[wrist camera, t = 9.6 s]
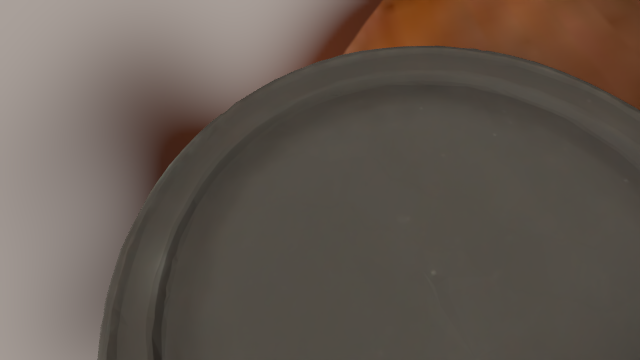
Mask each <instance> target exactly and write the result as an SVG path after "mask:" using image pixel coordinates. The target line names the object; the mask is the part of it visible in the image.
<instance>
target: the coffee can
mask: <svg viewBox="0 0 640 360" xmlns="http://www.w3.org/2000/svg"><path fill="white" fill-rule="evenodd" d="M98 360H640V110H638V109H636V108H635V107H633V106H631V105H630V104H628V103H626V102H624V101H622V100H621V99H619V98H617V97H615V96H613V95H612V94H610V93H608V92H606V91H604V90H602V89H600V88H598V87H596V86H594V85H592V84H590V83H588V82H585V81H583V80H581V79H578V78H576V77H574V76H571V75H569V74H567V73H564V72H562V71H559V70H556V69H554V68H551V67H548V66H545V65H542V64H540V63H537V62H534V61H530V60H526V59H522V58H518V57H515V56H511V55H506V54H501V53H496V52H491V51H481V50H478V49H466V48H456V47H445V46H408V47H393V48H382V49H374V50H366V51H359V52H354V53H349V54H344V55H340V56H337V57H334V58H330V59H327V60H323V61H319V62H317V63H314V64H311V65H309V66H306V67H304V68H301V69H299V70H296V71H293V72H291V73H289V74H287V75H285V76H282V77H280V78H278V79H276V80H274V81H272V82H270V83H268V84H267V85H265V86H263V87H261V88H259V89H258V90H256V91H254V92H253V93H251V94H250V95H248V96H246V97H245V98H243V99H241V100H240V101H238V102H236V103H235V104H234V105H233V106H232V107H231V108H230V109H228V110H227V111H226V112H225V113H223V114H221V115H220V116H218V117H217V118H216V119H215V120H213V121H212V122H211V123H210V124H208V125H207V126H206V127H205V128H204V129H203V130H202V131H201V132H200V133H199V134H198V135H197V136H196V137H195V138H194V139H193V140H192V141H191V142H190V143H189V144H188V145H187V146H186V147H185V148H184V149H183V150H182V152H181V153H180V154H179V155H178V156H177V157H176V158H175V160H174V161H173V162H172V163H171V164H170V165H169V167H168V168H167V169H166V171H165V172H164V173H163V175H162V176H161V178H160V179H159V180H158V182H157V183H156V185H155V186H154V188H153V190H152V191H151V192H150V194H149V196H148V198H147V200H146V201H145V203H144V205H143V207H142V209H141V211H140V212H139V214H138V216H137V218H136V220H135V222H134V224H133V225H132V227H131V229H130V231H129V234H128V236H127V238H126V240H125V242H124V244H123V246H122V248H121V251H120V254H119V257H118V260H117V263H116V266H115V270H114V273H113V276H112V279H111V283H110V286H109V290H108V294H107V298H106V303H105V308H104V316H103V321H102V325H101V332H100V341H99V351H98Z"/></svg>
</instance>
